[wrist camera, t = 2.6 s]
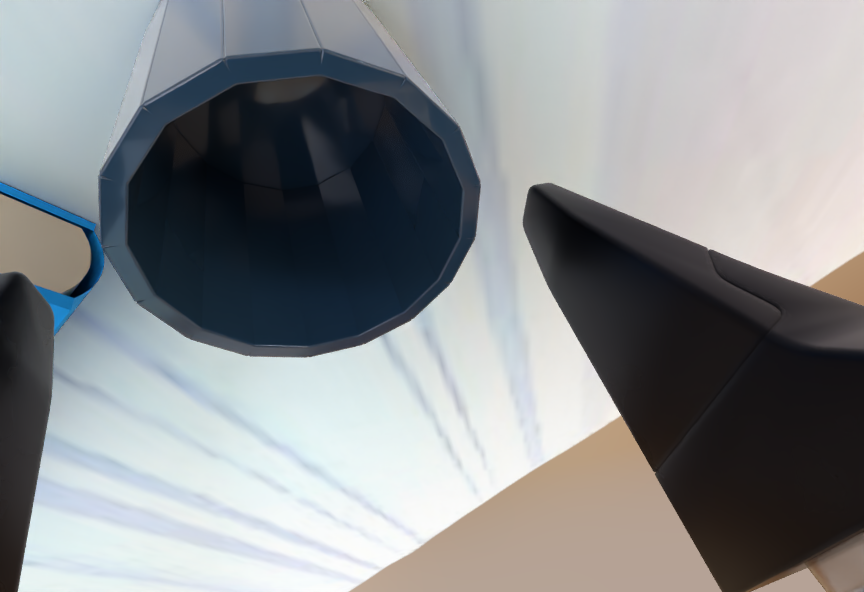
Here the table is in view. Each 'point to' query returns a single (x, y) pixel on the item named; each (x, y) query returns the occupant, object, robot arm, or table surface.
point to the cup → (283, 178)
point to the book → (49, 250)
